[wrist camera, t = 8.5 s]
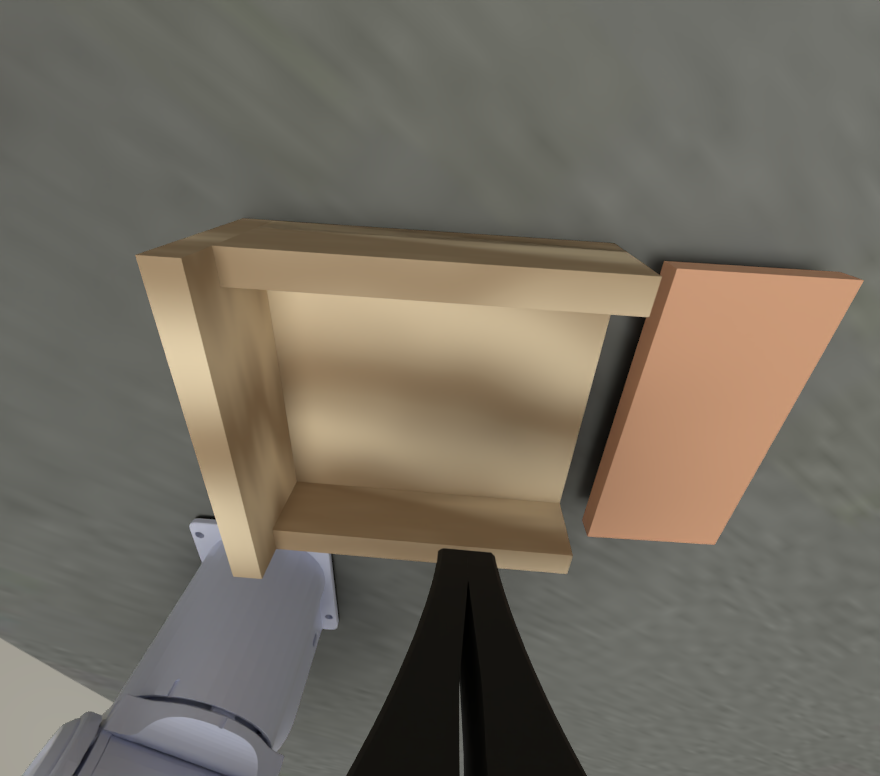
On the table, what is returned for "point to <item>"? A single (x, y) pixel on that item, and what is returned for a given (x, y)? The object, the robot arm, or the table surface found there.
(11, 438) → the table surface
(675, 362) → the panel
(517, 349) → the tray
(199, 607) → the robot arm
